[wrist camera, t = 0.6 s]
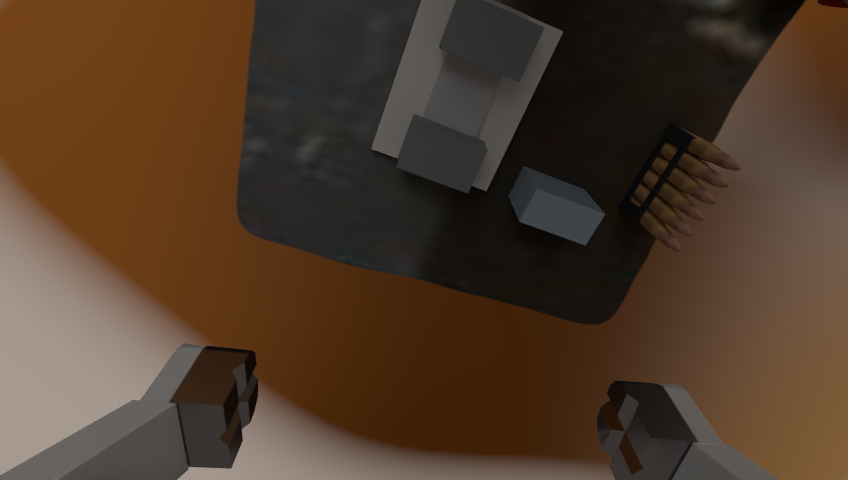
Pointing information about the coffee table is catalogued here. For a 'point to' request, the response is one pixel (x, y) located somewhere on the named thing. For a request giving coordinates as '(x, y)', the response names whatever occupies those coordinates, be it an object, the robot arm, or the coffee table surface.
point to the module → (555, 206)
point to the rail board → (463, 89)
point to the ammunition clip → (675, 183)
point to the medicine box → (834, 3)
